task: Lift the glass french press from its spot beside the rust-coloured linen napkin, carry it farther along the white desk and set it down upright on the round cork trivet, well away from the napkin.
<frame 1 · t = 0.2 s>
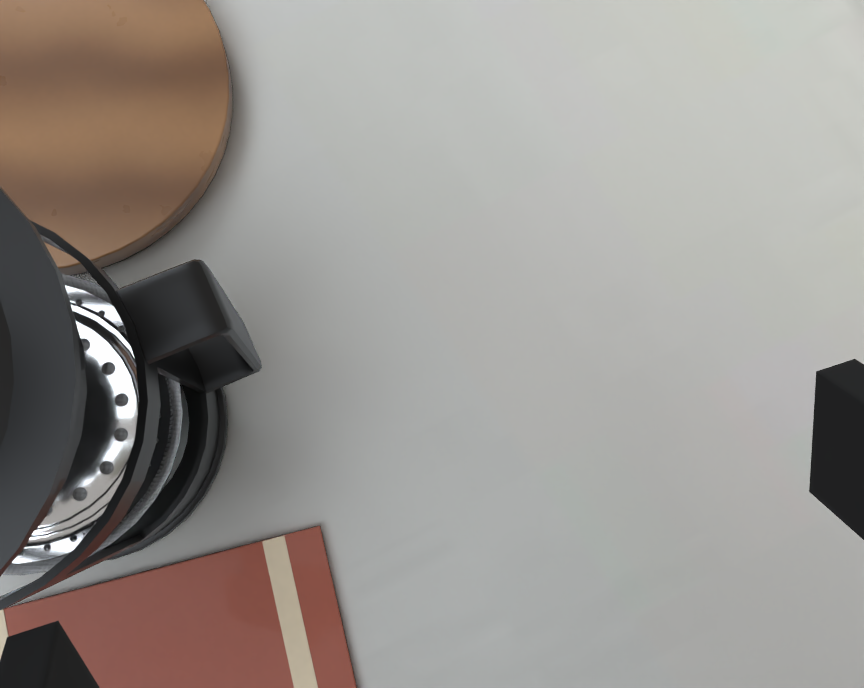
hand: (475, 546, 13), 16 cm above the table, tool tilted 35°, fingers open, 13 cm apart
french press: (109, 421, 28), on the table
cork trivet: (42, 97, 29), on the table
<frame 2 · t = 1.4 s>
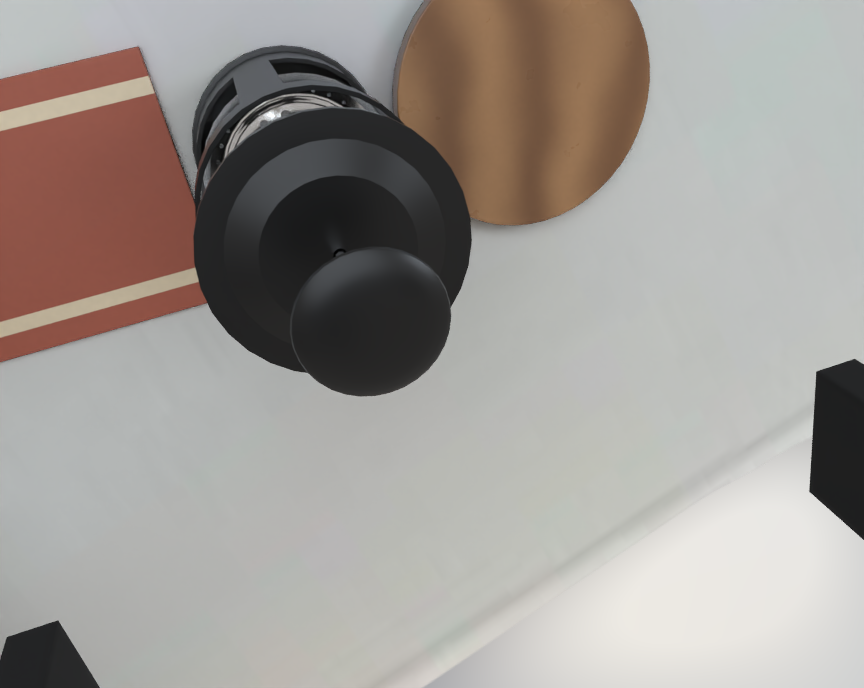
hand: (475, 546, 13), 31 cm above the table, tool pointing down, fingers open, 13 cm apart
napkin: (56, 215, 38), on the table
french press: (292, 151, 40), on the table
cork trivet: (520, 92, 41), on the table
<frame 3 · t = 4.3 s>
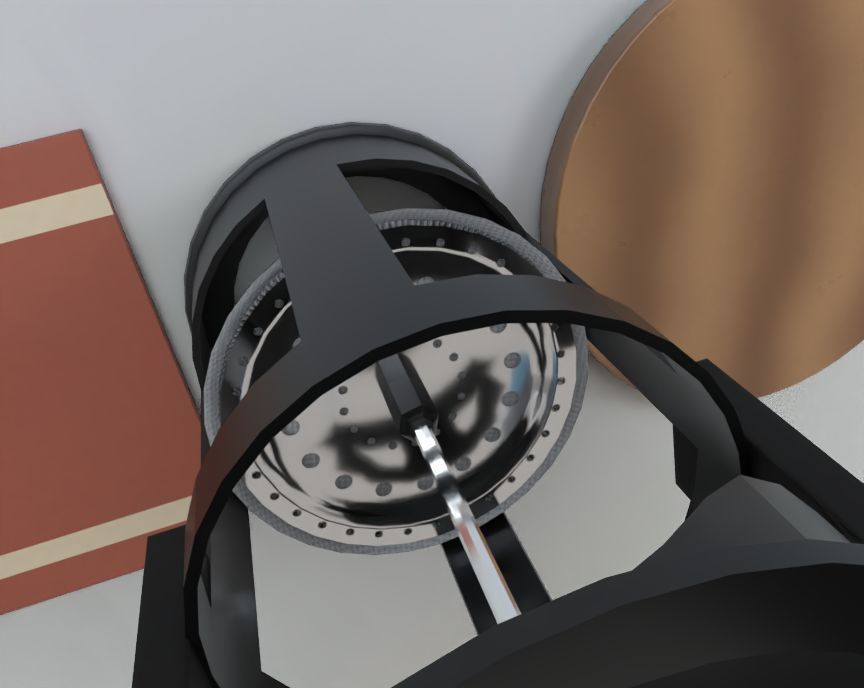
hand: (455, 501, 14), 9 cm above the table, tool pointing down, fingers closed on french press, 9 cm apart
french press: (362, 301, 23), on the table, touching gripper
cork trivet: (750, 191, 24), on the table
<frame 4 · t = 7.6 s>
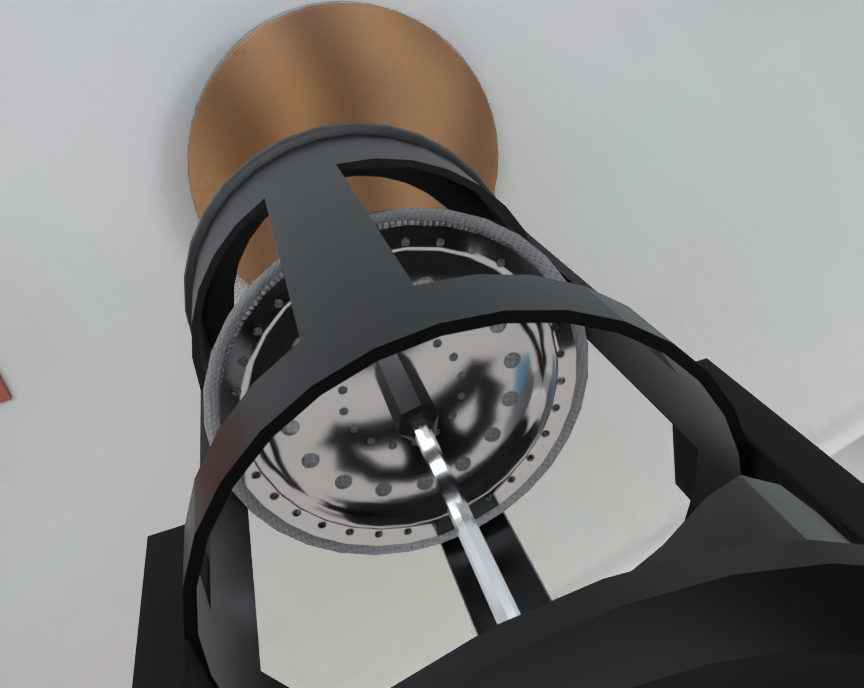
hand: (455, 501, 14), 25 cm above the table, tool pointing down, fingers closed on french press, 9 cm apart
french press: (362, 301, 23), point 15 cm above the table, touching gripper
cork trivet: (346, 166, 36), on the table
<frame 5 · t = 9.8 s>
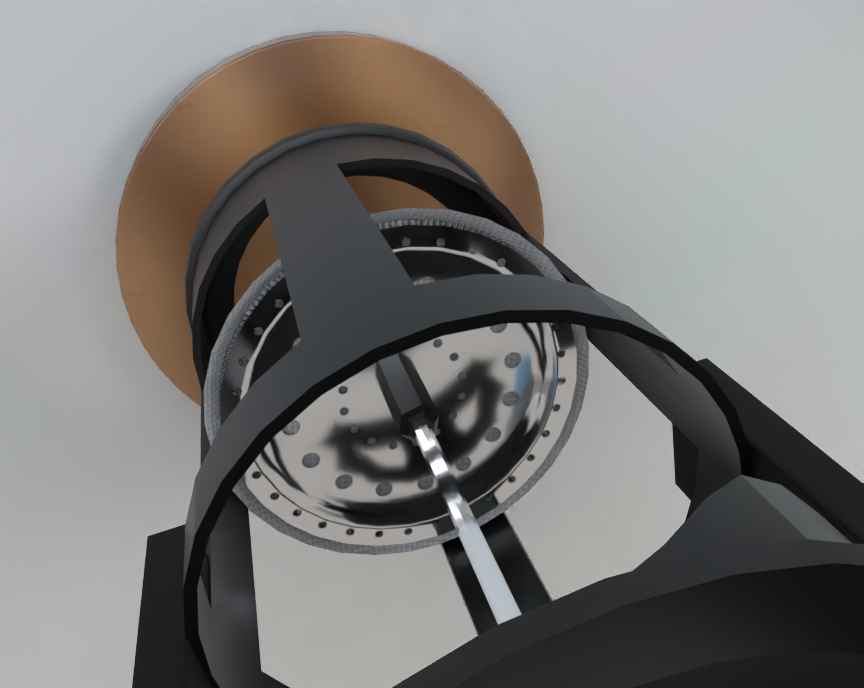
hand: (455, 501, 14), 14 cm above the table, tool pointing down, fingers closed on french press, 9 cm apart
french press: (362, 301, 23), point 4 cm above the table, touching gripper
cork trivet: (339, 251, 26), on the table
when the fingers open (11 cm above the table, at t = 11.3 s): french press stays where it is, resting on cork trivet.
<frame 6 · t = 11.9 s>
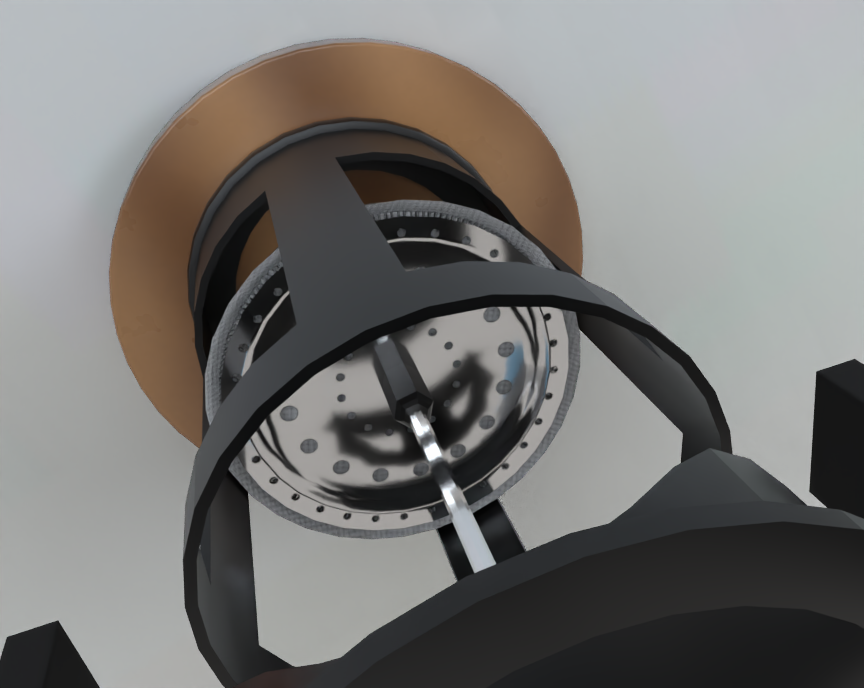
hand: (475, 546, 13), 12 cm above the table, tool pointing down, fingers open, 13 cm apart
french press: (361, 293, 23), point 1 cm above the table, touching cork trivet
cork trivet: (357, 280, 24), on the table
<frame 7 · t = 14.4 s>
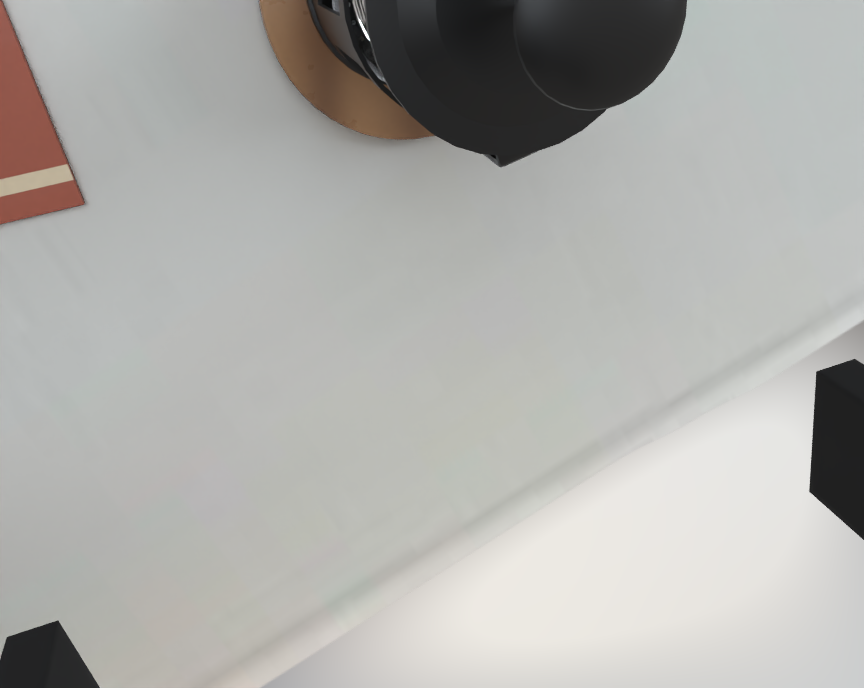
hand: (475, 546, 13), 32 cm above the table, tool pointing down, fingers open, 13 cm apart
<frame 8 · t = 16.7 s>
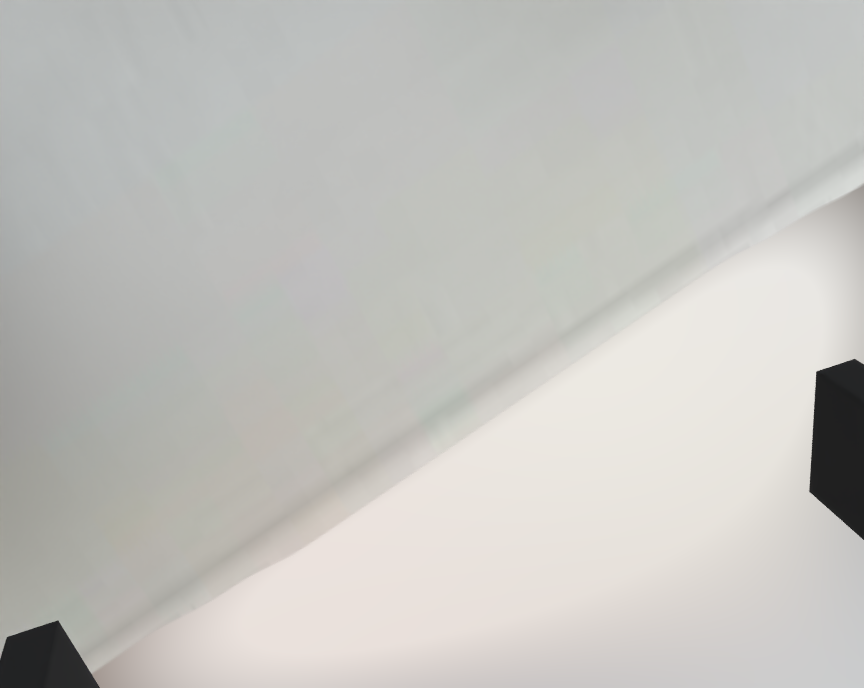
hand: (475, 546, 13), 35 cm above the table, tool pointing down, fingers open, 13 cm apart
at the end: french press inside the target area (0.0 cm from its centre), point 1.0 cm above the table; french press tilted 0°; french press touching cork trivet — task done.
